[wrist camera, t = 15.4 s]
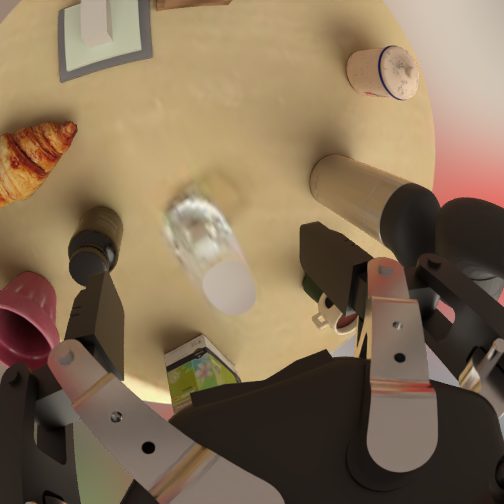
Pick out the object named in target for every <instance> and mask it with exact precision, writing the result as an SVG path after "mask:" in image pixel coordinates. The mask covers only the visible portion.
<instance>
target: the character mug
mask: <svg viewBox="0 0 504 504" xmlns="http://www.w3.org/2000/svg"><path fill="white" fill-rule="evenodd" d="M303 288H304V291H305V292H306V293H307V294H308V295H309V296H310V297H311V298H312V299H313V300H314V301H316V302H317V303H318V310H319V313H317V314H316V315H314V316H313V317H312V321H313V322H314V323H315V325H316V326H317V327H318V328H319V329H323V328H325V327H326V326H328V325H330V327H331V328H332V329H333V330H334V332H335V333H336V334H339V335H343V334H348V333H349V332H351V331H353V330H354V329H356V326H357V318H358V314H357V313H354V314H351V315H349V316H347V317H345V316H344V315H343V314H342V313H341V311H340V310H339V309H338V308H337V307H336V306H335V305H334V304H333V302H332V301H331V300H330V299H329V298H328V297H327V296H326V295H325V293H324V292H323V291H322V290H321V289H320V288H319V287H318V286H317V284H316V283H315V282H314V281H313V280H312V279H311V278H310V277H309V276H308V275H307V276H306V277H305V279H304V282H303ZM321 317H323V318H324V319H325V320H326V321H324V322H322V323H321V322H320V321H319V320H318V319H319V318H321Z"/></svg>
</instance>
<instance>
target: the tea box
mask: <svg viewBox="0 0 504 504" xmlns="http://www.w3.org/2000/svg"><path fill="white" fill-rule="evenodd" d="M165 364H166V370H167V377H168V383H169V390H170V395H171V401H172V406H173V411H174V415H175V414H176V413H177V412H178V411H180V410H181V409H183V408H184V407H186V406H188V405H190V404H192V401H191V397H190V393H192V392H196V391H200V390H204V389H208V388H212V387H215V386H219V385H223V384H230V383H242V382H241V380H240V377H239V374H238V372H237V369H236V367H235V366H234V365H233V364H231V363H230V362H229V361H228V360H227V359H226V358H225V357H224V356H223V355H222V353H221V352H220V351H219V350H218V349H217V348H216V347H215V346H214V345H213V344H212V343H211V342H210V341H209V340H208V339H207V338H206V337H205V336H204V335H203V334H202V335H200V336H198V337H196V338H194V339H193V340H191V341H189V342H187V343H185V344H183V345H181V346H180V347H178V348H176V349H174V350H172V351H170V352H169V353H167V354H165Z"/></svg>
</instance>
